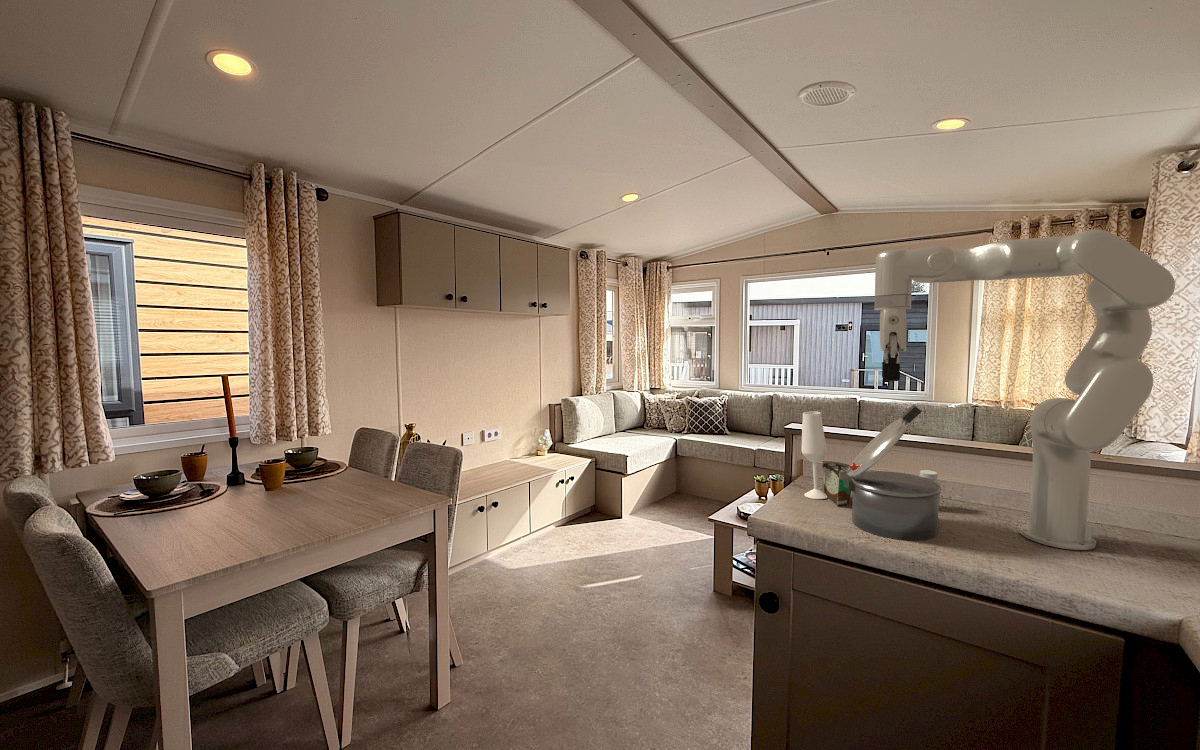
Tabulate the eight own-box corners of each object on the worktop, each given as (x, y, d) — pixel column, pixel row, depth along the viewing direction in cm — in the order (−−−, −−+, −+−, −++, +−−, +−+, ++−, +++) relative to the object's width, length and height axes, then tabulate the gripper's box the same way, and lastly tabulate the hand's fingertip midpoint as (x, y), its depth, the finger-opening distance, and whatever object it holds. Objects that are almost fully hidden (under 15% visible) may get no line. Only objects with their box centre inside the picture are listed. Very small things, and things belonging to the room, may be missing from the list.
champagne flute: (825, 490, 149) (820, 410, 147) (832, 498, 143) (827, 414, 141) (801, 492, 150) (796, 411, 148) (807, 499, 144) (802, 415, 142)
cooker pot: (933, 518, 128) (934, 475, 127) (945, 546, 111) (947, 497, 110) (848, 508, 136) (849, 467, 135) (848, 532, 119) (849, 487, 119)
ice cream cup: (863, 508, 136) (863, 471, 135) (839, 508, 136) (840, 472, 135) (842, 494, 148) (843, 460, 147) (821, 494, 148) (821, 460, 147)
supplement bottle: (926, 511, 132) (927, 475, 132) (910, 504, 138) (911, 470, 137) (944, 510, 133) (945, 474, 133) (928, 503, 139) (929, 468, 138)
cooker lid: (916, 405, 127) (908, 398, 128) (926, 416, 110) (916, 409, 111) (850, 466, 135) (843, 460, 136) (850, 486, 118) (841, 479, 119)
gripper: (915, 301, 110) (912, 383, 112) (907, 304, 126) (905, 376, 127) (875, 302, 114) (873, 382, 115) (873, 306, 129) (871, 376, 131)
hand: (890, 378), depth 121 cm, fingers open, 6 cm apart
